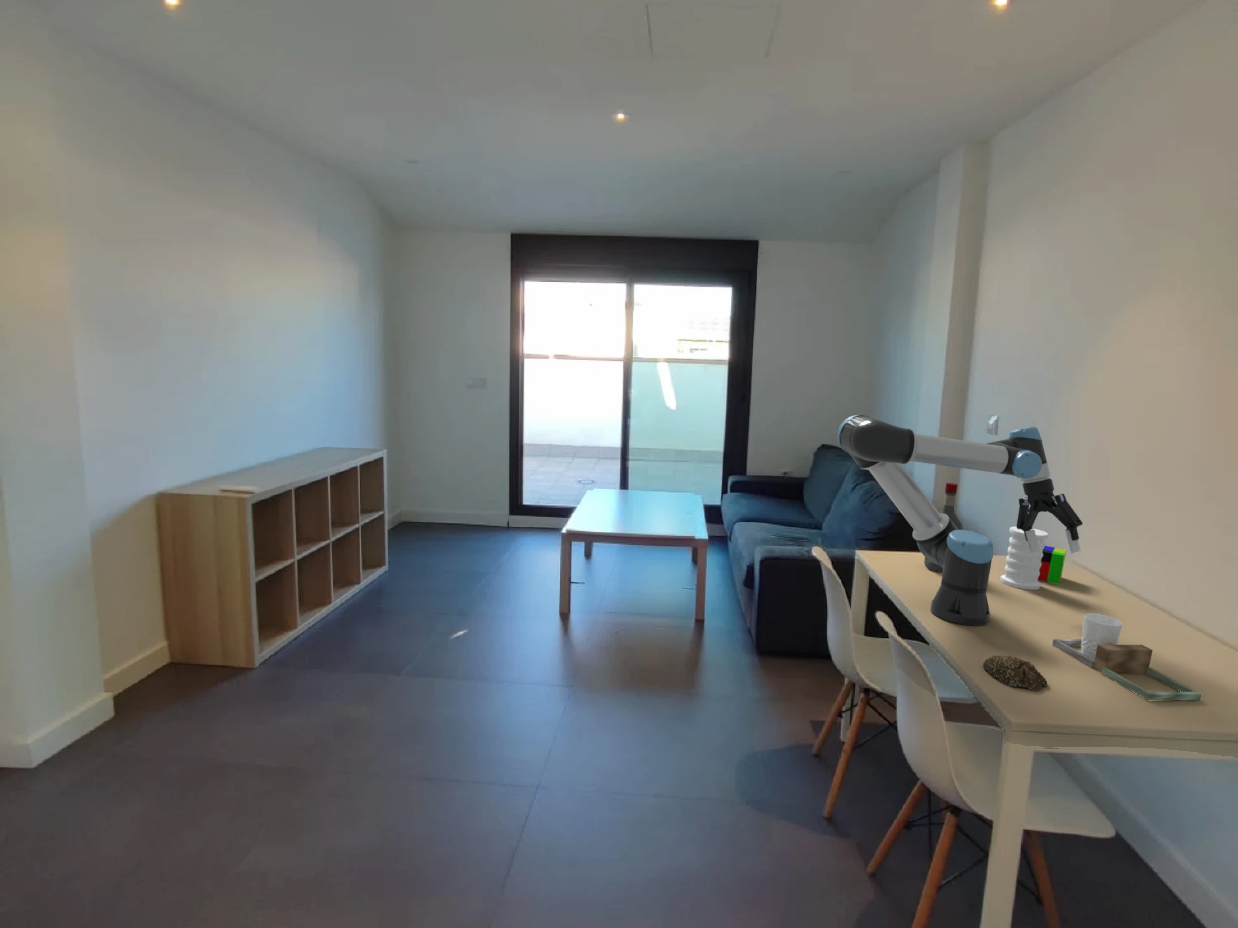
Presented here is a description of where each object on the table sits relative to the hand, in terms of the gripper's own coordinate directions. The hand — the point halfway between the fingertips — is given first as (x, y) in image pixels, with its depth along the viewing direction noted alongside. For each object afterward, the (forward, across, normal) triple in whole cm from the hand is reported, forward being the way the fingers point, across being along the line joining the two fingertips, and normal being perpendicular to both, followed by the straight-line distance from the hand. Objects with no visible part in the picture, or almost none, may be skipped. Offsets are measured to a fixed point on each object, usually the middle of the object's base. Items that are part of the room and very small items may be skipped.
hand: (1054, 552), depth 205 cm
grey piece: (+25, -28, +19) cm, 42 cm away
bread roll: (+19, -27, +49) cm, 59 cm away
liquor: (+5, +44, +5) cm, 44 cm away
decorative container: (+14, +28, -12) cm, 33 cm away
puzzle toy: (+15, +33, -27) cm, 45 cm away
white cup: (+23, -21, +18) cm, 36 cm away
